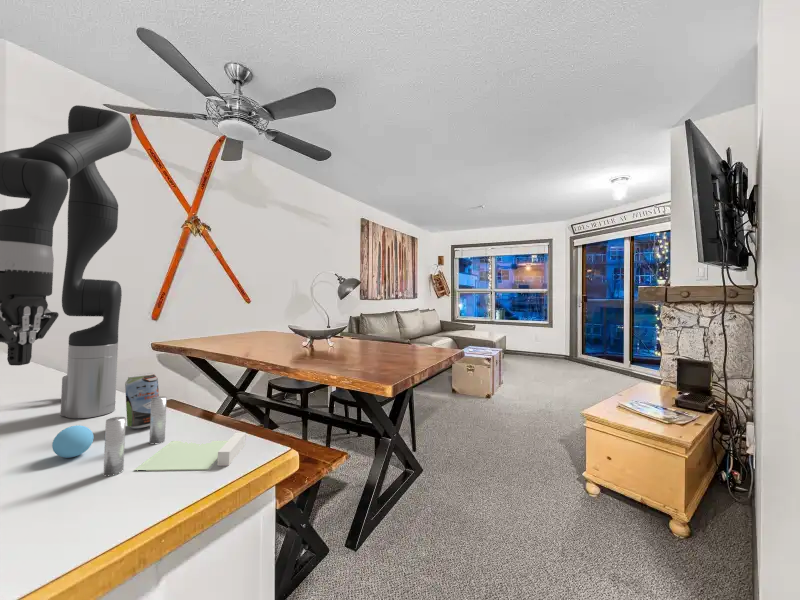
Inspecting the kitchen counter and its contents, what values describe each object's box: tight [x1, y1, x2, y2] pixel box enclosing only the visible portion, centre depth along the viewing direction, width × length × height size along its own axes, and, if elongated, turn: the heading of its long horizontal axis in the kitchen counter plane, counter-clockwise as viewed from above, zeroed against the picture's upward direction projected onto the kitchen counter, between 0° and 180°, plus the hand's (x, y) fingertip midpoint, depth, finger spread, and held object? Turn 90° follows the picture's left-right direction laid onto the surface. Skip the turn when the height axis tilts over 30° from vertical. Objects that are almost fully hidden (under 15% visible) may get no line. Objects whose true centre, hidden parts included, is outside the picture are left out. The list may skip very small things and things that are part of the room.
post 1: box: [103, 416, 127, 477], centre depth 58 cm, size 3×3×9 cm
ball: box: [51, 424, 95, 459], centre depth 63 cm, size 6×6×6 cm
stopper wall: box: [217, 432, 247, 467], centre depth 66 cm, size 2×9×2 cm, turn 7°
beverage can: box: [124, 372, 160, 429], centre depth 78 cm, size 6×7×12 cm
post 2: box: [149, 395, 168, 445], centre depth 70 cm, size 3×3×9 cm
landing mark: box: [134, 440, 229, 472], centre depth 65 cm, size 12×12×1 cm
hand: (19, 364), depth 62 cm, fingers closed
